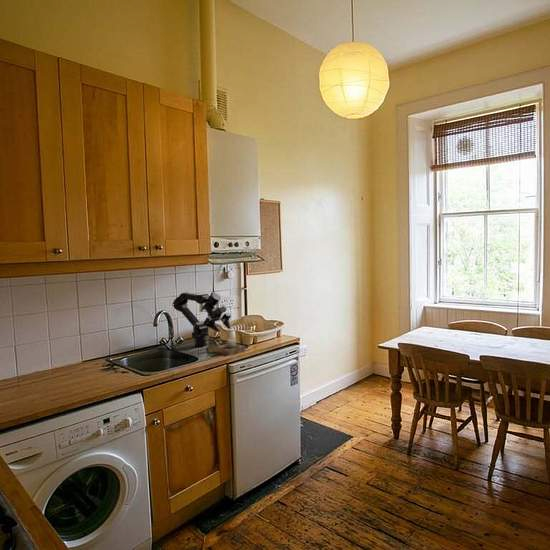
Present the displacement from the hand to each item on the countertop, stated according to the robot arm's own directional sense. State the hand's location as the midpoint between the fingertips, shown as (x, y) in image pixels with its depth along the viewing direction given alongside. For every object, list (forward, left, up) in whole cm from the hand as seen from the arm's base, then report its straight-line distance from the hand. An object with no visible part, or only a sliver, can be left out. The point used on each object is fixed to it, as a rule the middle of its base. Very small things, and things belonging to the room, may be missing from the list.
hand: (224, 330), depth 241 cm
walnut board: (+4, -1, -12) cm, 13 cm away
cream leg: (+5, -1, -12) cm, 13 cm away
